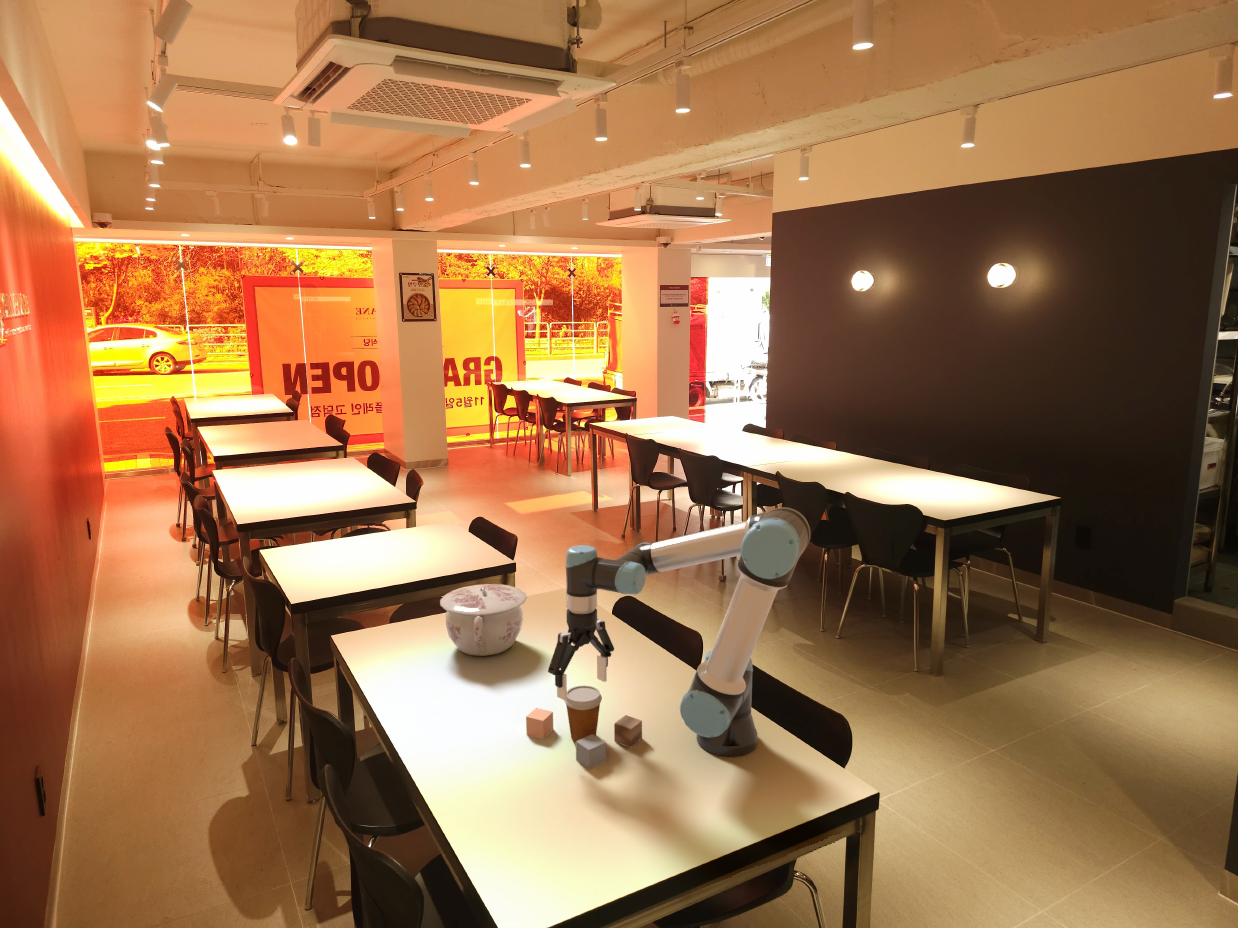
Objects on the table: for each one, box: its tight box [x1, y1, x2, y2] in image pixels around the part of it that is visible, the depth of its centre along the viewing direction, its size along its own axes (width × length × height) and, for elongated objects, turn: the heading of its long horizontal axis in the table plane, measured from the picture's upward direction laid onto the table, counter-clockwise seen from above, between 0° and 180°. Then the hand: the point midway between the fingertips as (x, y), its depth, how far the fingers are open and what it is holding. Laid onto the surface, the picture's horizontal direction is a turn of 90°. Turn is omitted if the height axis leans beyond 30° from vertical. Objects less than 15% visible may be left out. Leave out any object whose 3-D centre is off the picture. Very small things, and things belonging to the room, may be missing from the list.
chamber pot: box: [439, 583, 528, 657], centre depth 248 cm, size 28×28×21 cm
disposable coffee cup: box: [563, 684, 603, 743], centre depth 195 cm, size 10×10×12 cm
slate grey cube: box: [575, 734, 606, 770], centre depth 185 cm, size 5×5×5 cm
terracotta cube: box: [525, 707, 554, 739], centre depth 198 cm, size 5×5×5 cm
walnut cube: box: [613, 714, 643, 748], centre depth 194 cm, size 5×5×5 cm
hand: (582, 688), depth 194 cm, fingers open, 13 cm apart
